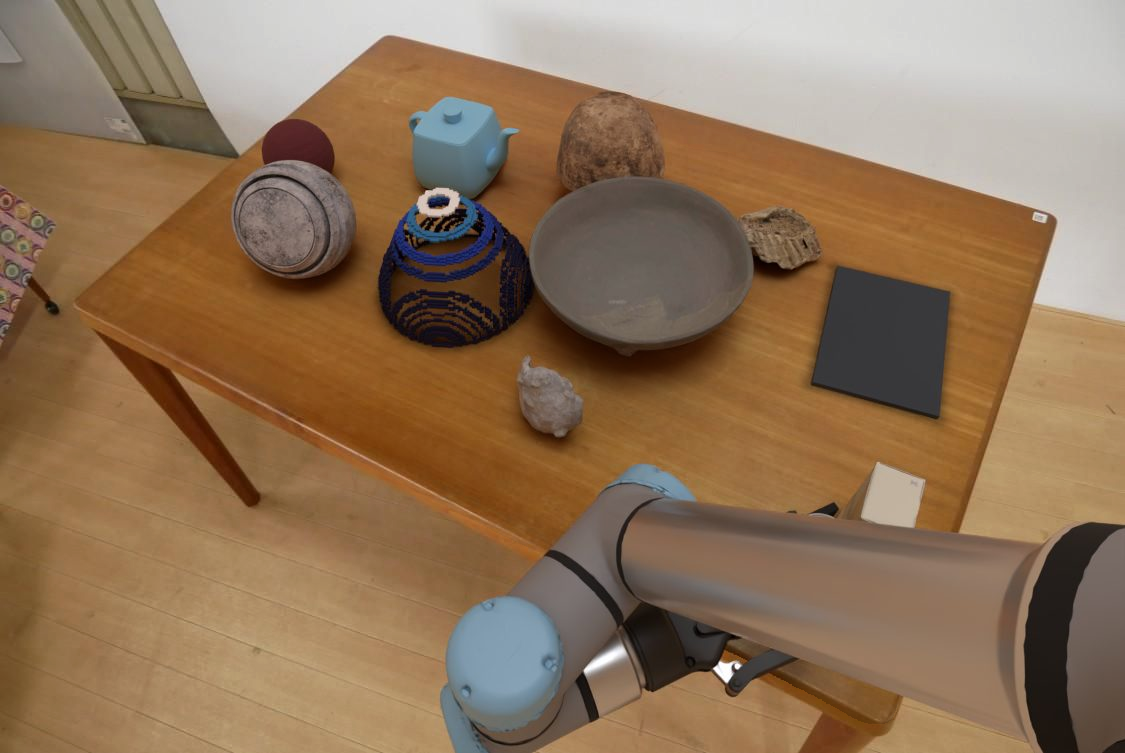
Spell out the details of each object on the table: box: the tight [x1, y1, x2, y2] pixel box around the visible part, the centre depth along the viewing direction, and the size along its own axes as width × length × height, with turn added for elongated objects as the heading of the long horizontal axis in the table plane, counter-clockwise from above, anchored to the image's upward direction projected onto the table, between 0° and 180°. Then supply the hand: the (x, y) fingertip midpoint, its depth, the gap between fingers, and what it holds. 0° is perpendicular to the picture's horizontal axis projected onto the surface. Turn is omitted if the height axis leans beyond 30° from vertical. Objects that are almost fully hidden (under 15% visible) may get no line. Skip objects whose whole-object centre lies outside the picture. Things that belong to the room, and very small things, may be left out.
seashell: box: [737, 205, 823, 270], centre depth 91 cm, size 11×7×10 cm
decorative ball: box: [261, 118, 336, 175], centre depth 101 cm, size 10×10×10 cm
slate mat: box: [810, 265, 951, 420], centre depth 85 cm, size 20×14×1 cm
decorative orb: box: [230, 160, 357, 280], centre depth 90 cm, size 15×14×15 cm
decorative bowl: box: [377, 188, 535, 349], centre depth 86 cm, size 20×20×14 cm
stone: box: [516, 355, 584, 438], centre depth 75 cm, size 9×7×10 cm
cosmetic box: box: [836, 461, 926, 528], centre depth 64 cm, size 6×4×12 cm
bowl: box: [528, 176, 755, 357], centre depth 85 cm, size 26×26×10 cm
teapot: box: [408, 96, 520, 200], centre depth 100 cm, size 12×18×12 cm
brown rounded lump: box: [555, 90, 666, 192], centre depth 96 cm, size 15×16×15 cm
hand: (853, 541), depth 63 cm, fingers closed on beverage can, 6 cm apart
